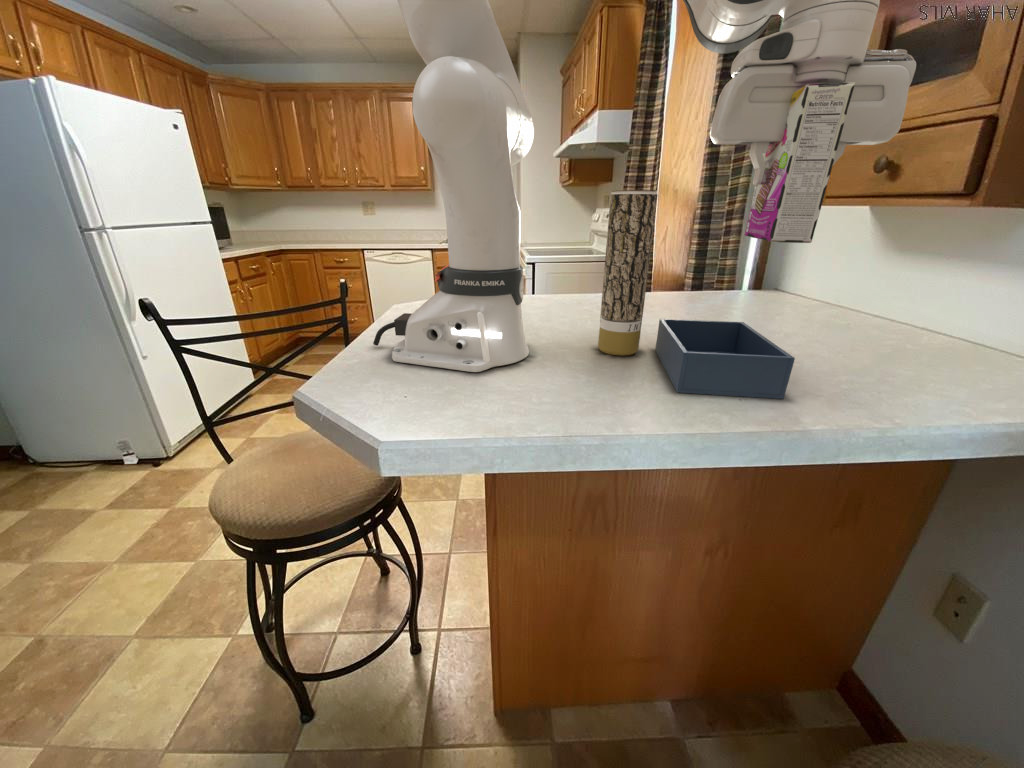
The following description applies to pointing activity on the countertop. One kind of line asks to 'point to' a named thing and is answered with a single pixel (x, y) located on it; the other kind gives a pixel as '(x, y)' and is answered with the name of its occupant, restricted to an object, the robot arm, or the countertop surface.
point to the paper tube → (626, 269)
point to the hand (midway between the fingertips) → (786, 185)
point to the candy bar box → (800, 165)
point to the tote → (722, 359)
